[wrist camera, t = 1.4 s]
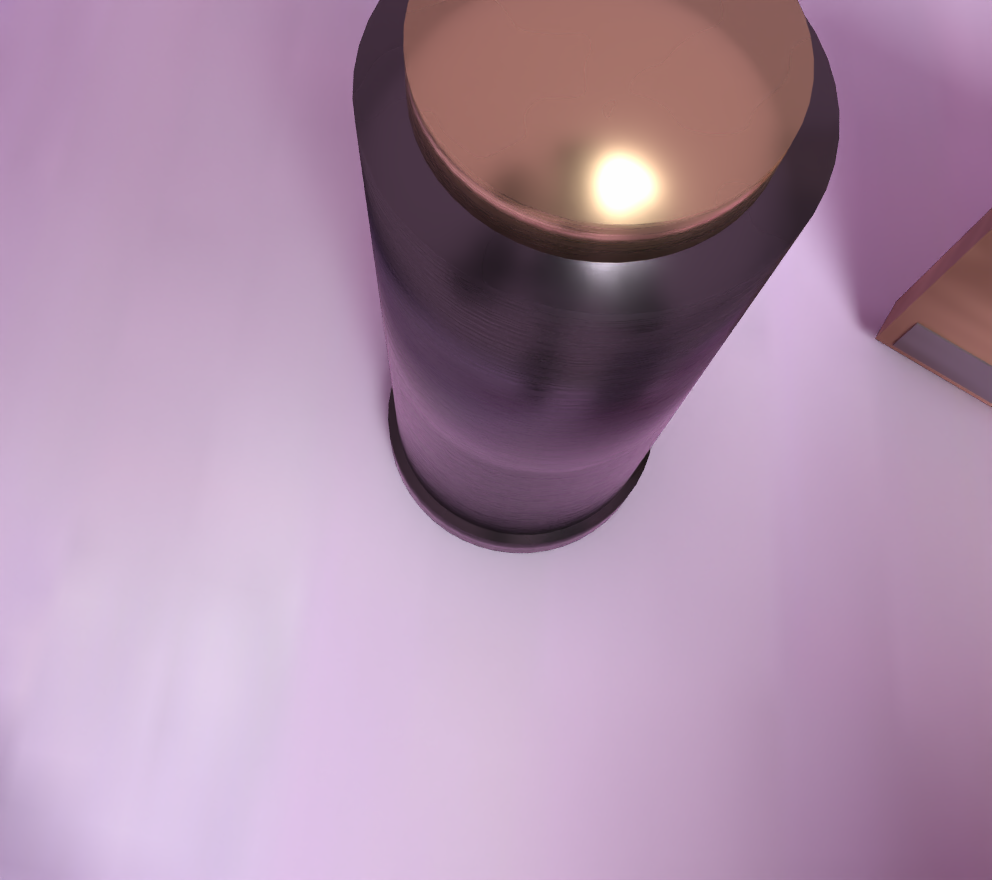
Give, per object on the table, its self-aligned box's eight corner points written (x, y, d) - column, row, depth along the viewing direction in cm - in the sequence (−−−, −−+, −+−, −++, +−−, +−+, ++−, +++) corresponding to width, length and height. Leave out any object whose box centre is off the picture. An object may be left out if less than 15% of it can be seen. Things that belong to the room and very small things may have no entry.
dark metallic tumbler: (559, 605, 21) (719, 411, 9) (339, 460, 22) (207, 97, 10) (690, 395, 23) (975, -8, 11) (482, 268, 23) (525, -246, 11)
